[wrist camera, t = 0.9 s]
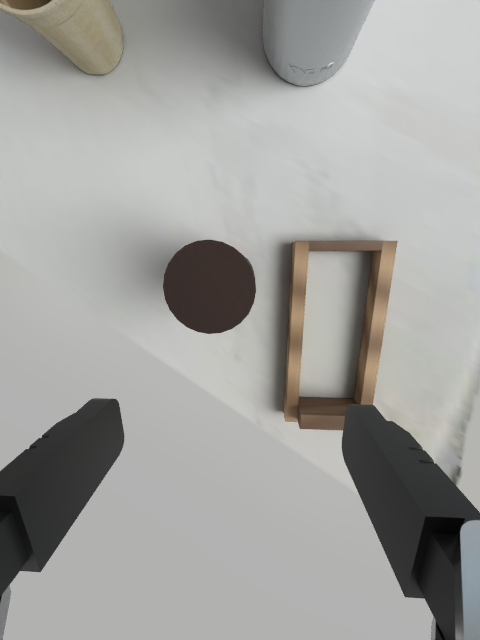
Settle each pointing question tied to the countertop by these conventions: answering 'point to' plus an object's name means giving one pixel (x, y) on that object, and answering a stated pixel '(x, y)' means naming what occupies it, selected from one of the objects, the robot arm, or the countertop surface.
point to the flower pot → (75, 29)
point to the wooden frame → (333, 409)
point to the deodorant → (209, 286)
